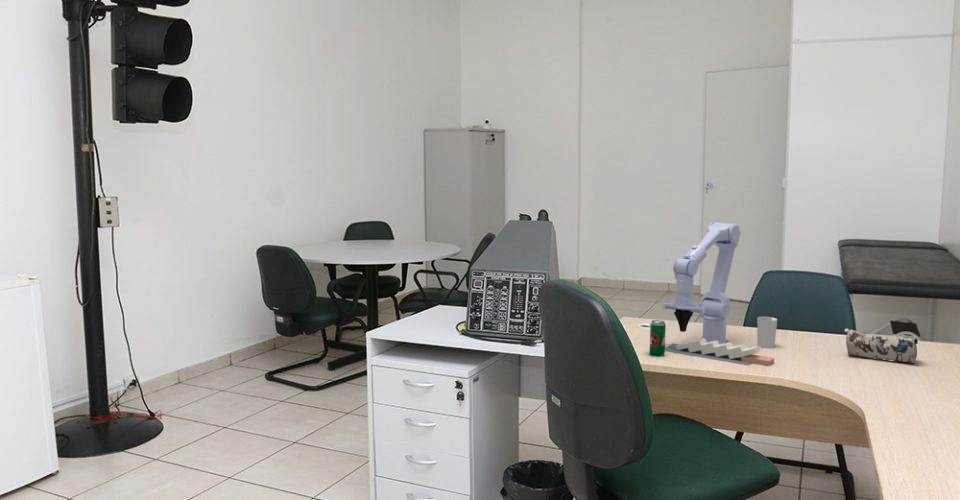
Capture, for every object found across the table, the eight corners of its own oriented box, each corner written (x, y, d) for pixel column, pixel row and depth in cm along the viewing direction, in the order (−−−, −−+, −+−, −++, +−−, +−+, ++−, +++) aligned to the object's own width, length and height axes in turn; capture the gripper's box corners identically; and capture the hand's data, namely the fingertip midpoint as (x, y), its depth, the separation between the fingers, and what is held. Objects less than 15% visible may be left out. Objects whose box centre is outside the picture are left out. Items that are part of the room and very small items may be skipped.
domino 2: (688, 347, 252) (712, 342, 246) (693, 345, 255) (717, 340, 250) (689, 352, 251) (713, 347, 246) (695, 349, 255) (719, 344, 250)
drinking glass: (755, 347, 260) (757, 319, 259) (756, 342, 267) (757, 316, 265) (775, 349, 258) (777, 321, 257) (775, 344, 264) (777, 317, 263)
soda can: (664, 358, 246) (666, 323, 244) (649, 357, 247) (650, 322, 245) (664, 354, 251) (665, 320, 249) (649, 353, 252) (650, 319, 250)
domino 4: (714, 352, 246) (740, 346, 240) (720, 349, 250) (745, 343, 244) (716, 357, 246) (741, 351, 240) (721, 353, 250) (746, 348, 244)
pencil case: (917, 361, 243) (919, 332, 242) (915, 367, 236) (917, 337, 235) (844, 351, 255) (846, 324, 254) (841, 357, 248) (842, 329, 247)
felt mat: (673, 344, 264) (673, 343, 264) (760, 358, 245) (760, 357, 245) (659, 351, 255) (659, 350, 255) (748, 366, 236) (748, 365, 236)
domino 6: (741, 356, 240) (769, 361, 235) (746, 353, 244) (774, 358, 239) (741, 361, 240) (769, 366, 235) (746, 358, 244) (774, 362, 239)
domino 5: (728, 354, 243) (754, 348, 237) (733, 351, 247) (759, 345, 241) (729, 359, 243) (755, 353, 237) (734, 356, 247) (760, 350, 241)
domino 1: (675, 345, 254) (699, 340, 249) (681, 342, 258) (705, 338, 253) (677, 350, 254) (700, 345, 249) (682, 347, 258) (706, 342, 252)
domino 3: (701, 350, 249) (725, 345, 243) (706, 347, 253) (731, 342, 247) (702, 354, 249) (727, 349, 243) (707, 351, 252) (732, 346, 247)
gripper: (660, 292, 254) (658, 330, 256) (700, 297, 246) (698, 336, 247) (668, 289, 260) (667, 326, 262) (708, 294, 251) (706, 332, 253)
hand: (683, 331), depth 255 cm, fingers closed
